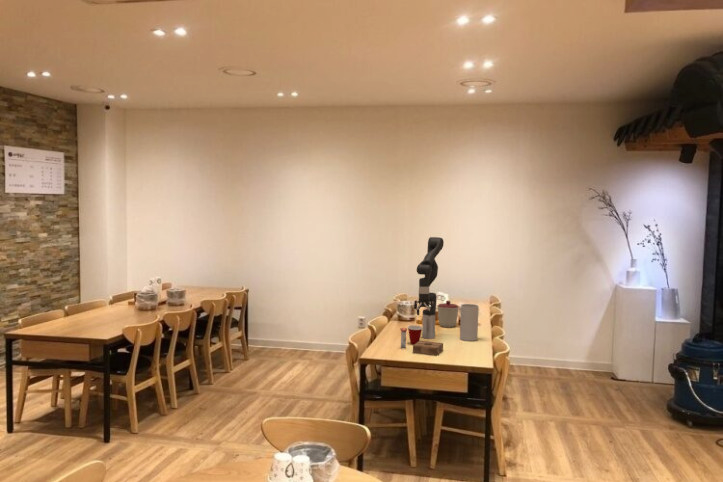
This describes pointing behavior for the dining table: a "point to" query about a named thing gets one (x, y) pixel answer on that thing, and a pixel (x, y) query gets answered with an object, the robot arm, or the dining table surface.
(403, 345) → the lynch pin
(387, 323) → the dining table surface
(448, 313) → the canister
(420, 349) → the block
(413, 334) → the plastic cup
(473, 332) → the cylinder vase
